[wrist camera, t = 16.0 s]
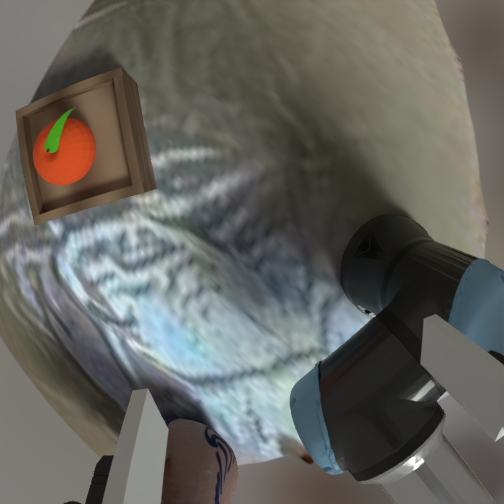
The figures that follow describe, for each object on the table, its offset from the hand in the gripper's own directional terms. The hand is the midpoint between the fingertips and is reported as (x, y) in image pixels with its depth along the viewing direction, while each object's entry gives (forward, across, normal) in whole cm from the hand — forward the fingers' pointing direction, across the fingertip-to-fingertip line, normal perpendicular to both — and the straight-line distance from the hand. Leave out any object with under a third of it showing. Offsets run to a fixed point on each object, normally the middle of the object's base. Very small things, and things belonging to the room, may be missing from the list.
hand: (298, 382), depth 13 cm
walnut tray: (+29, +16, -16) cm, 37 cm away
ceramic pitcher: (+29, +18, +30) cm, 45 cm away
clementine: (+23, +16, -16) cm, 32 cm away
